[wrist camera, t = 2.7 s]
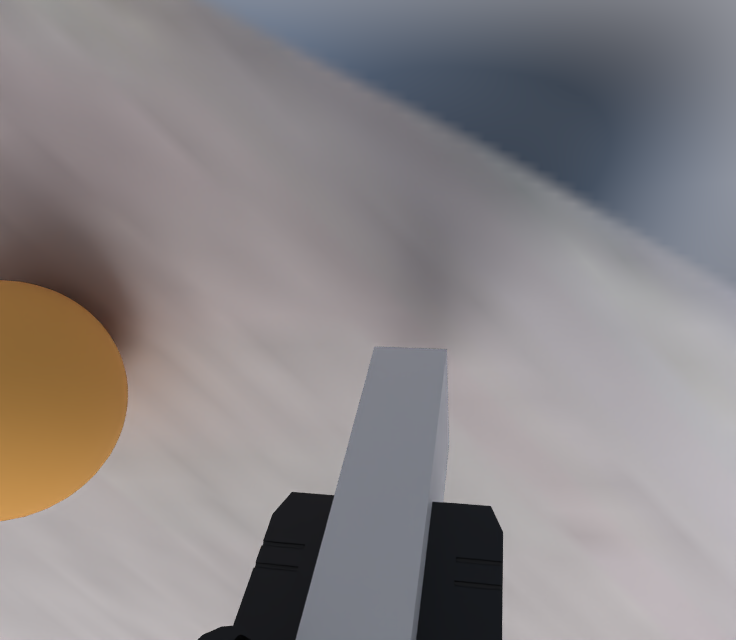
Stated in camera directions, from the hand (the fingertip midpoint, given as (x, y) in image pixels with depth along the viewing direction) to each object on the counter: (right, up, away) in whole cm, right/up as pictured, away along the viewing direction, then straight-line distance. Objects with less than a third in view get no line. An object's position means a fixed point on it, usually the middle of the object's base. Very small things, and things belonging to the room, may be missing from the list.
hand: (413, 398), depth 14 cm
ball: (-9, 0, +1) cm, 10 cm away
